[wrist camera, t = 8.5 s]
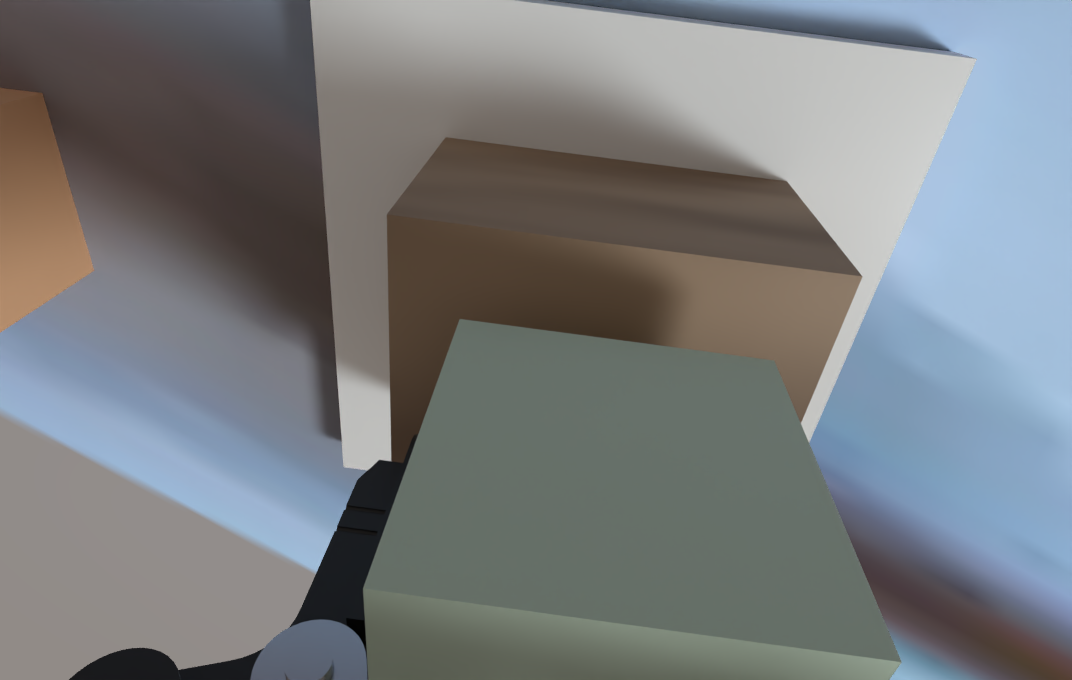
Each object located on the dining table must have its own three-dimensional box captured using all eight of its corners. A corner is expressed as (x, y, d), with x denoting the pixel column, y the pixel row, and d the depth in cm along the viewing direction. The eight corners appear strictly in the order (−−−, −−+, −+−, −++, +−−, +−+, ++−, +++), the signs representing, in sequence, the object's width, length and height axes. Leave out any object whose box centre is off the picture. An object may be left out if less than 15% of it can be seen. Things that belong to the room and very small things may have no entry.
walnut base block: (445, 136, 15) (386, 214, 11) (786, 181, 15) (862, 276, 11) (437, 406, 19) (393, 537, 15) (703, 442, 19) (733, 584, 15)
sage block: (459, 318, 10) (363, 588, 6) (774, 360, 10) (902, 662, 6) (447, 566, 13) (379, 856, 9) (686, 598, 13) (728, 905, 9)
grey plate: (325, -28, 14) (308, -26, 13) (954, 52, 14) (977, 58, 13) (353, 446, 22) (343, 467, 21) (766, 501, 22) (772, 524, 21)
